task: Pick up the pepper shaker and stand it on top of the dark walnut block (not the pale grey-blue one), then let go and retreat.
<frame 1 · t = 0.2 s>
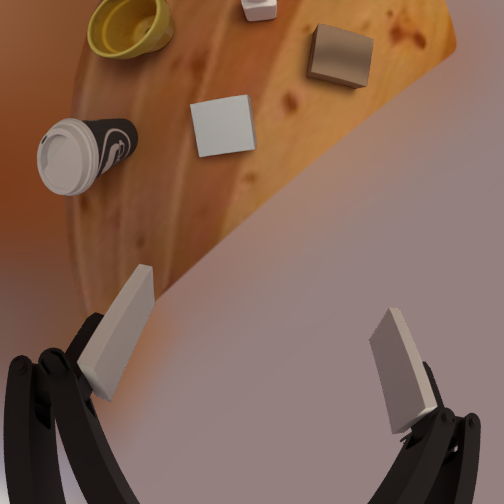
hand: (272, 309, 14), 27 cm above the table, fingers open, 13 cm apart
coffee cup: (120, 138, 36), on the table
plant pot: (153, 34, 27), on the table
walnut block: (334, 59, 28), on the table
pepper shaker: (260, 10, 25), on the table
grey-blue block: (228, 123, 34), on the table
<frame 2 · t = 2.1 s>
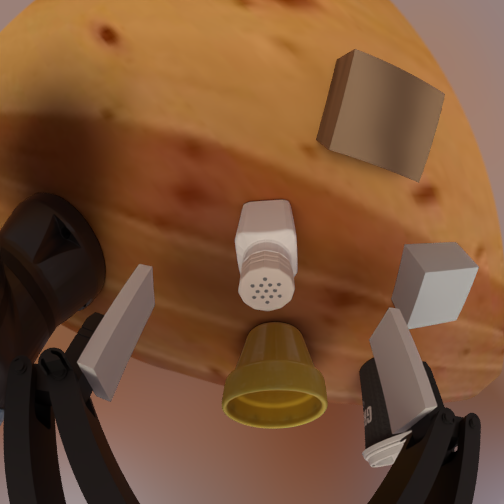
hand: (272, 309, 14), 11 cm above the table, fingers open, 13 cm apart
coffee cup: (379, 365, 34), on the table
plant pot: (275, 339, 31), on the table
walnut block: (367, 113, 18), on the table
pepper shaker: (267, 219, 23), on the table
grey-blue block: (423, 270, 25), on the table
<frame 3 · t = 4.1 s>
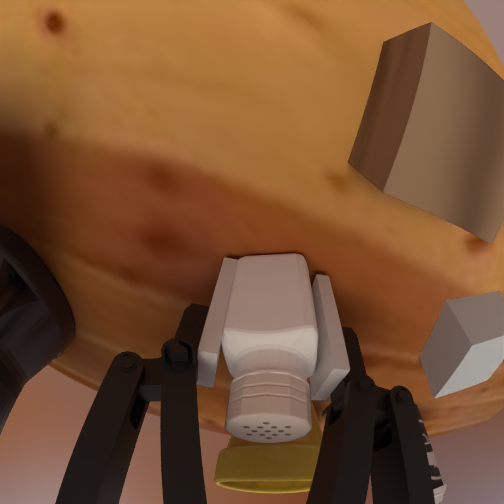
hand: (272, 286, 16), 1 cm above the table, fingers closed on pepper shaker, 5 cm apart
coffee cup: (394, 414, 27), on the table
plant pot: (278, 398, 24), on the table
walnut block: (422, 126, 11), on the table
pepper shaker: (272, 276, 16), on the table, touching gripper
grey-blue block: (460, 324, 18), on the table
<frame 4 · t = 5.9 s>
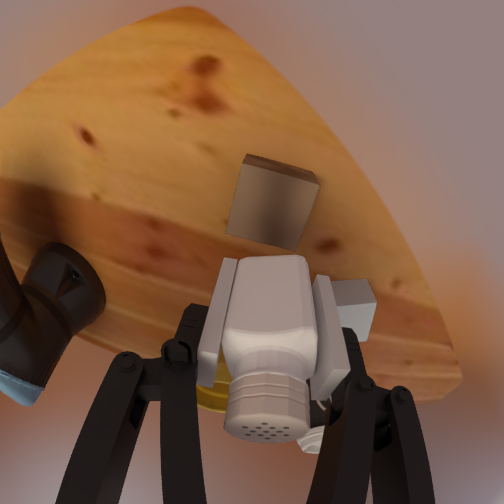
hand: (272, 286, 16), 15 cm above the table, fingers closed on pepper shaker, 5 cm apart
coffee cup: (320, 370, 44), on the table
plant pot: (227, 346, 42), on the table
walnut block: (270, 192, 28), on the table
pepper shaker: (274, 278, 17), point 14 cm above the table, touching gripper
grey-blue block: (338, 299, 36), on the table
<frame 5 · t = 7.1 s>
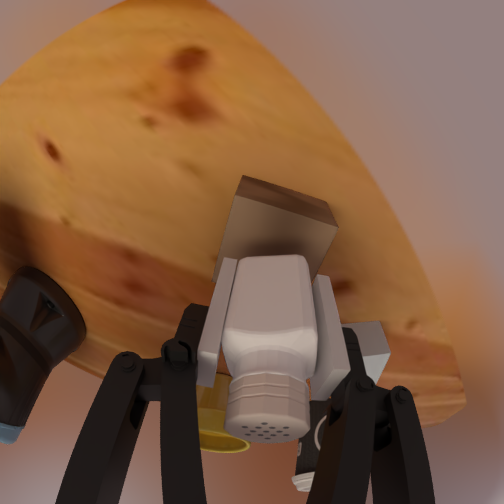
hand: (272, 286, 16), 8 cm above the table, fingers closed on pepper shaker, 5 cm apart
coffee cup: (320, 405, 39), on the table
plant pot: (219, 383, 36), on the table
walnut block: (271, 225, 23), on the table
pepper shaker: (274, 277, 17), point 7 cm above the table, touching gripper
grey-blue block: (345, 342, 30), on the table
when the fingers open (7 cm above the table, at t = 8.0 s): pepper shaker drops 1 cm, resting on walnut block.
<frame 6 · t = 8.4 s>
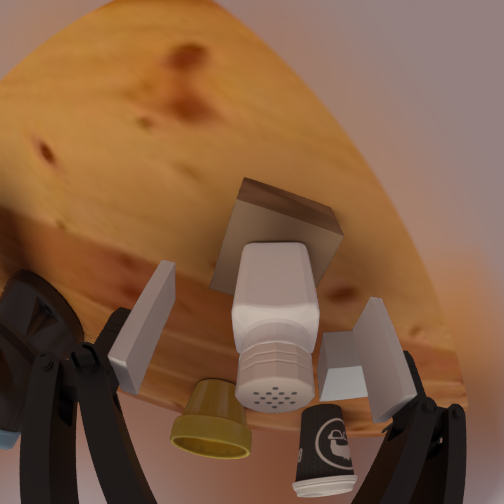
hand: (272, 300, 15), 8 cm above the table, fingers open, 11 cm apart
coffee cup: (321, 411, 38), on the table
plant pot: (219, 389, 35), on the table
walnut block: (273, 229, 22), on the table, touching pepper shaker
pepper shaker: (275, 264, 18), point 5 cm above the table, touching walnut block
grey-blue block: (348, 349, 29), on the table
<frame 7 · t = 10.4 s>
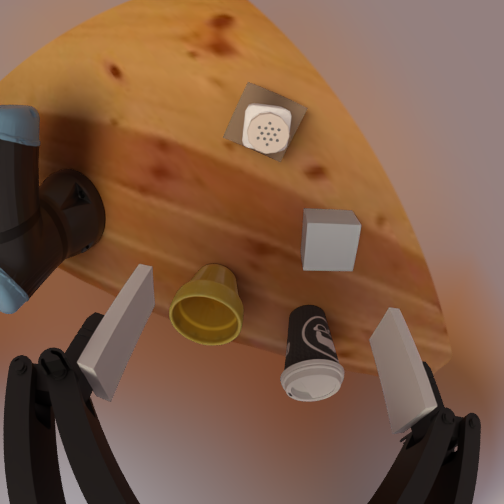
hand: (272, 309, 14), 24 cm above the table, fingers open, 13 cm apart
coffee cup: (307, 317, 47), on the table
plant pot: (216, 279, 44), on the table
walnut block: (265, 119, 31), on the table
pepper shaker: (264, 121, 27), point 5 cm above the table
grey-blue block: (325, 231, 38), on the table
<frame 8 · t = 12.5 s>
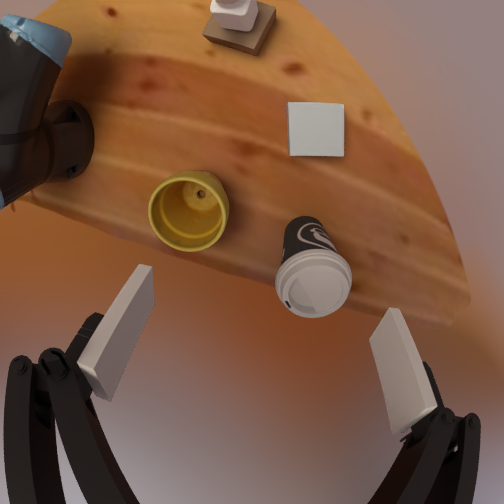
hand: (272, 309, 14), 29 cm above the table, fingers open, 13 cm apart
coffee cup: (304, 233, 44), on the table
plant pot: (203, 191, 41), on the table
walnut block: (242, 29, 28), on the table, touching pepper shaker
pepper shaker: (240, 19, 23), point 5 cm above the table, touching walnut block
grey-blue block: (311, 126, 35), on the table
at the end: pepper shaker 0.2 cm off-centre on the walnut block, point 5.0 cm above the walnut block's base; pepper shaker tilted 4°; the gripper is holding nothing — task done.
